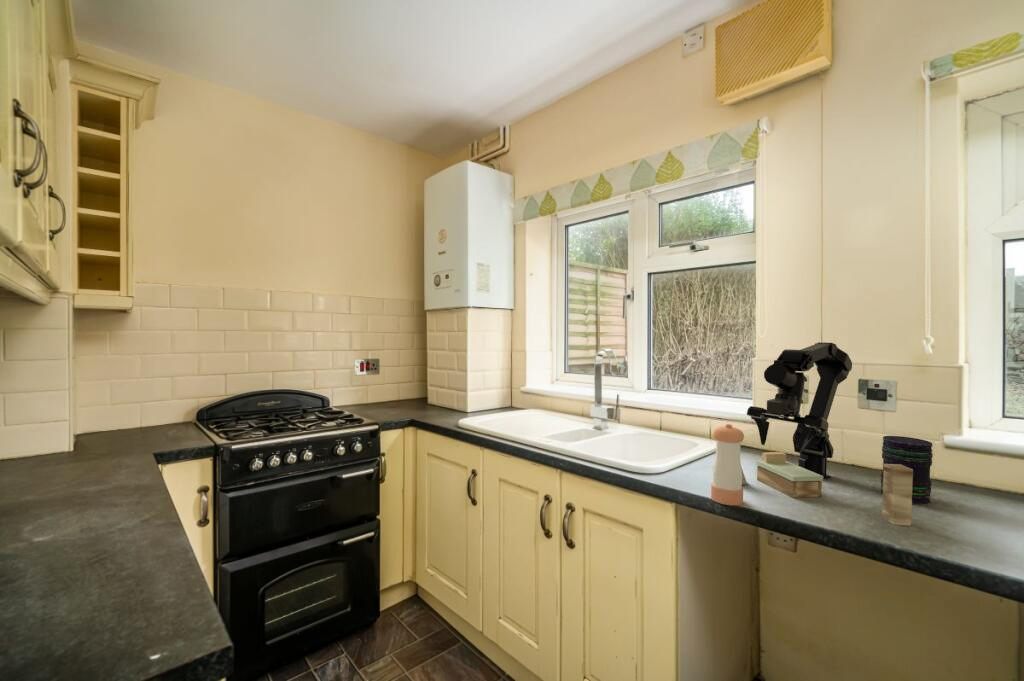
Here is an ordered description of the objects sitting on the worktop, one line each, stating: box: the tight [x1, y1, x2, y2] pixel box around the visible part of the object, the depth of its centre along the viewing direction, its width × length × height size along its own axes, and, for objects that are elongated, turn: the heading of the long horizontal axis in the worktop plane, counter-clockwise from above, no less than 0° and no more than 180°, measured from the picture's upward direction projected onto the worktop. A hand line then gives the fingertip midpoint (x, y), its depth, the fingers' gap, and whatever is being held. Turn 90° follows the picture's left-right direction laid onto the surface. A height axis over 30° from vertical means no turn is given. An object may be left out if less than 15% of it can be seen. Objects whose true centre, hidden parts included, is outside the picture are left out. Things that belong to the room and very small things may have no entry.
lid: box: [755, 451, 824, 482], centre depth 123 cm, size 8×14×4 cm, turn 7°
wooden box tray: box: [756, 465, 823, 499], centre depth 123 cm, size 8×14×4 cm, turn 7°
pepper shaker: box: [710, 423, 745, 506], centre depth 113 cm, size 7×7×19 cm
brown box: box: [881, 464, 913, 526], centre depth 102 cm, size 4×4×12 cm
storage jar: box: [880, 435, 933, 506], centre depth 117 cm, size 10×10×15 cm
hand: (780, 448), depth 123 cm, fingers open, 9 cm apart
